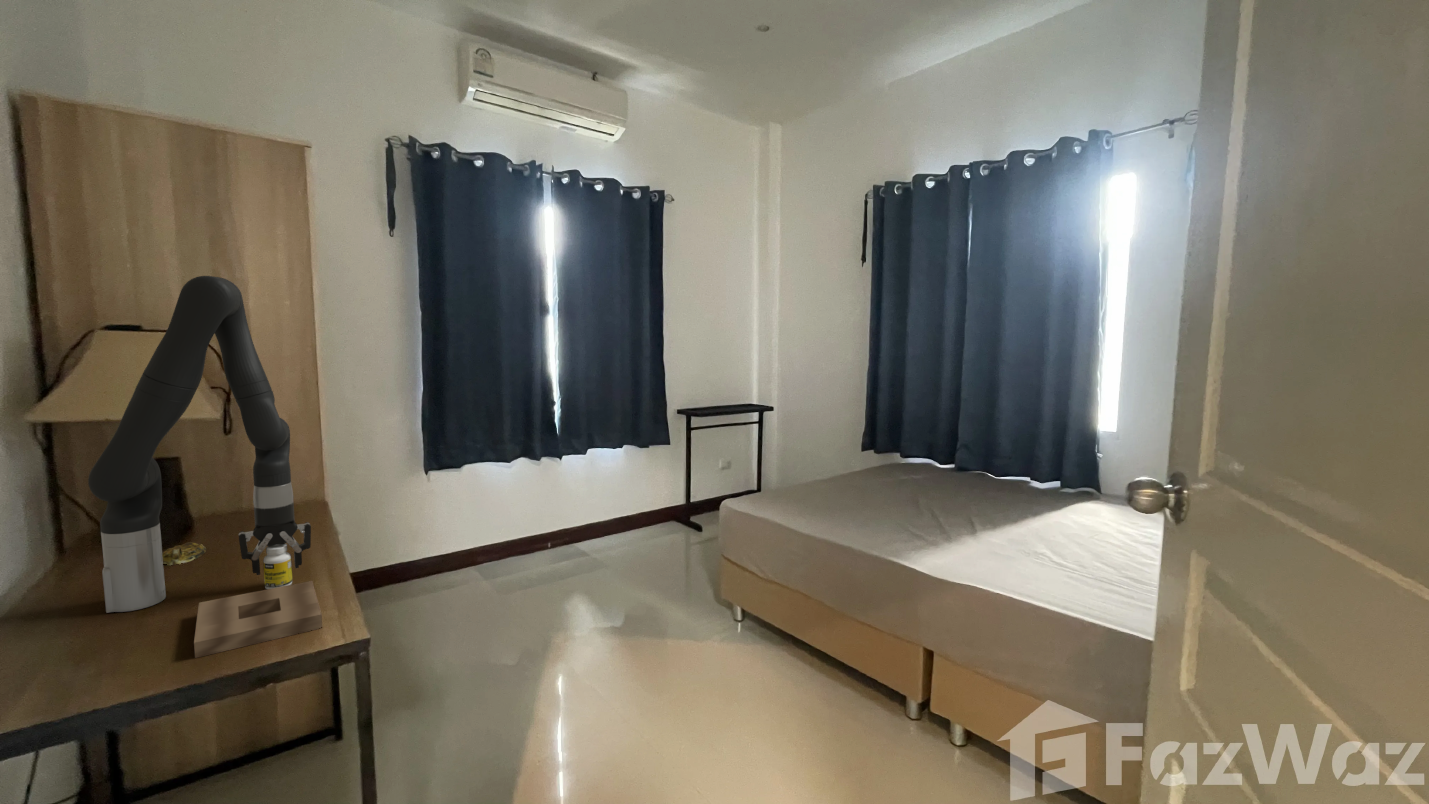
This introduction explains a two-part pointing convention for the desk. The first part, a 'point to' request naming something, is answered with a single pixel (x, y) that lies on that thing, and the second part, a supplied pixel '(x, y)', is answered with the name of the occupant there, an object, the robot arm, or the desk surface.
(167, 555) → the noodle cake
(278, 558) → the supplement bottle
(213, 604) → the socket board
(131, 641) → the desk surface
